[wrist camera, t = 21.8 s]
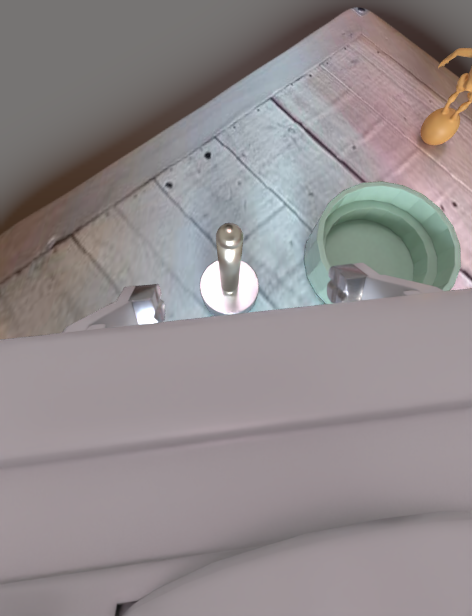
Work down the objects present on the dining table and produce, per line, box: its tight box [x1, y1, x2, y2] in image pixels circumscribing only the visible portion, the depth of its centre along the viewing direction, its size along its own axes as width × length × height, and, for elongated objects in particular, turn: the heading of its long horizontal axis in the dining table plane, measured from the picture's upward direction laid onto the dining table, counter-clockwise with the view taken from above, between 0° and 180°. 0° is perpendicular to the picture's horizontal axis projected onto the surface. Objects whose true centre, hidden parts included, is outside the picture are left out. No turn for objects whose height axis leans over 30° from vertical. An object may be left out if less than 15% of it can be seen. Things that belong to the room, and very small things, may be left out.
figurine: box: [421, 48, 472, 145], centre depth 30 cm, size 8×6×12 cm
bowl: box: [304, 181, 461, 304], centre depth 29 cm, size 14×14×5 cm
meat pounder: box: [200, 223, 259, 316], centre depth 23 cm, size 6×6×14 cm
